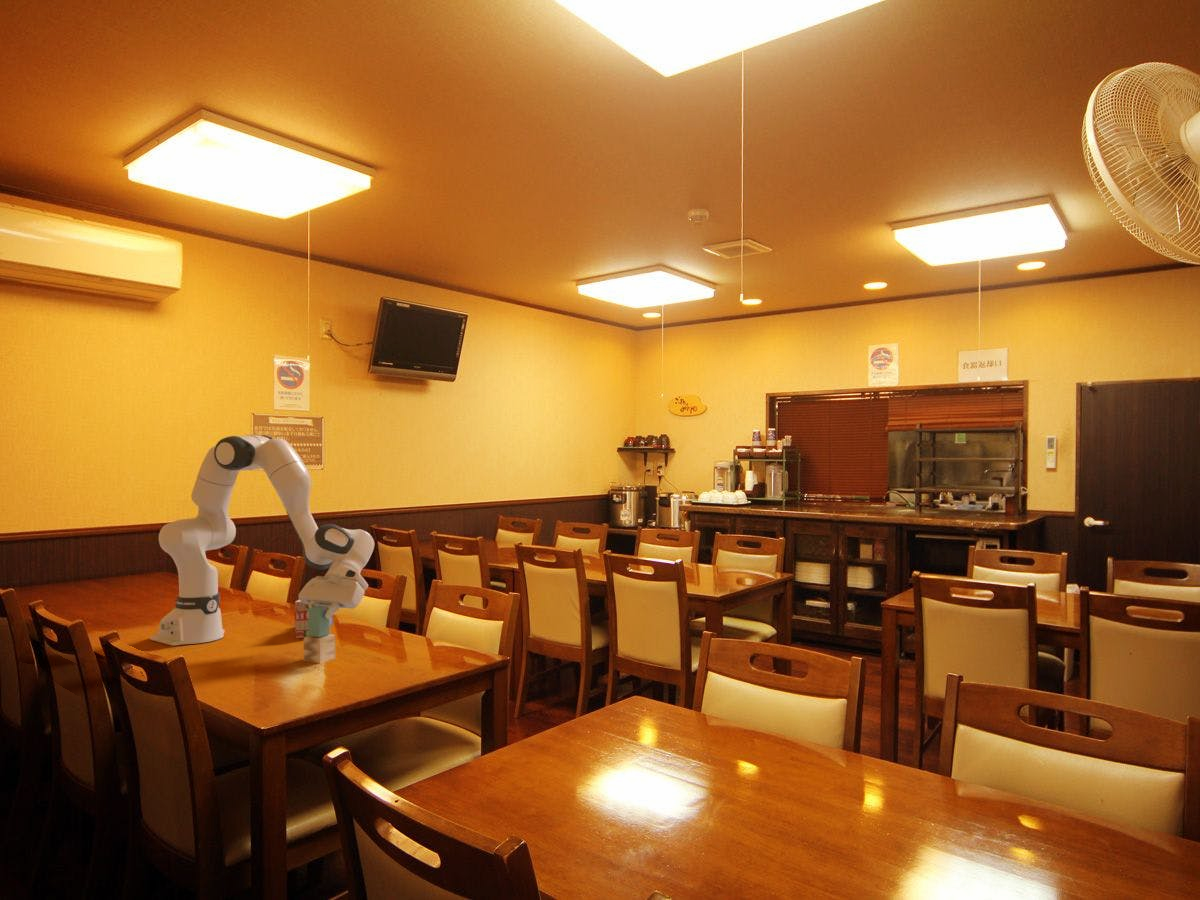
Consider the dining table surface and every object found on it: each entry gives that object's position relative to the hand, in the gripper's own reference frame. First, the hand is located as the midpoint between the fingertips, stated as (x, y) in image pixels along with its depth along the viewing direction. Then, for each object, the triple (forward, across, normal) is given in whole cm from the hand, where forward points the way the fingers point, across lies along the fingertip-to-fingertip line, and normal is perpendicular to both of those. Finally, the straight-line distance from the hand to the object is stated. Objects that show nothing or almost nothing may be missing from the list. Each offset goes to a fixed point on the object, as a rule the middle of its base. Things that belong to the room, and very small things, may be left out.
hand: (317, 617), depth 217 cm
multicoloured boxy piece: (-10, -26, +28) cm, 40 cm away
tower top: (+6, 0, +7) cm, 9 cm away
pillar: (+3, 0, +4) cm, 5 cm away
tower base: (+8, 0, +9) cm, 13 cm away
